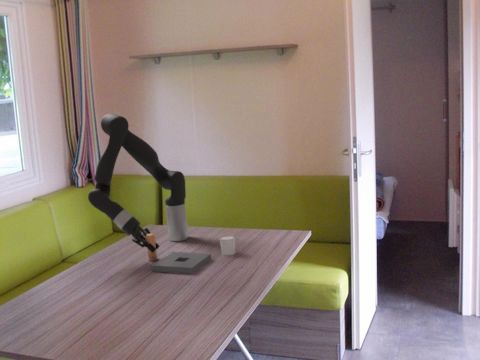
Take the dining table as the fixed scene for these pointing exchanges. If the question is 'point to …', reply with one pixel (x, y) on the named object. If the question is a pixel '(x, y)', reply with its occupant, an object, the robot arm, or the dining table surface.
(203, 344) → the dining table surface
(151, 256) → the peg
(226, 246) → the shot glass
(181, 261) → the peg board
